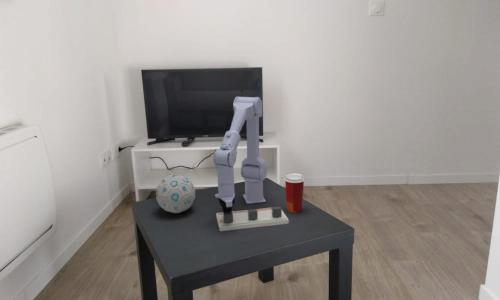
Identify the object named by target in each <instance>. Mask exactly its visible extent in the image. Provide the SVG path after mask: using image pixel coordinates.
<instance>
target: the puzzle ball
mask: <svg viewBox="0 0 500 300" xmlns="http://www.w3.org/2000/svg"><path fill="white" fill-rule="evenodd" d="M155 196H156V201H157V204H158V206H159V207H160V208H161V209H163V210H164V211H166V212H168V213H173V214H180V213H183V212H185V211H186V210H189V209H190V208H191V207H192V205H193V204H194V201H196V199H195V198H196V189H195V186H194V184H193V182H192V181H191V179H189V178H188V177H186V176H184V175H181V174H175V173H174V174H171V175H167V176H165V177H164V178H162V180H161V181H160V182H159V183H158V185H157V187H156V191H155Z"/></svg>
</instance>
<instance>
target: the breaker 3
mask: <svg viewBox="0 0 500 300" xmlns="http://www.w3.org/2000/svg"><path fill="white" fill-rule="evenodd" d="M271 208H272V216H273V217H279V216H282V211H283V209H282V207H281V206H272V207H271Z"/></svg>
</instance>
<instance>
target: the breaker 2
mask: <svg viewBox="0 0 500 300" xmlns="http://www.w3.org/2000/svg"><path fill="white" fill-rule="evenodd" d="M257 209H258V208H253V209H247V210H248V219H249V220H251V219H258V216H257Z"/></svg>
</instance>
